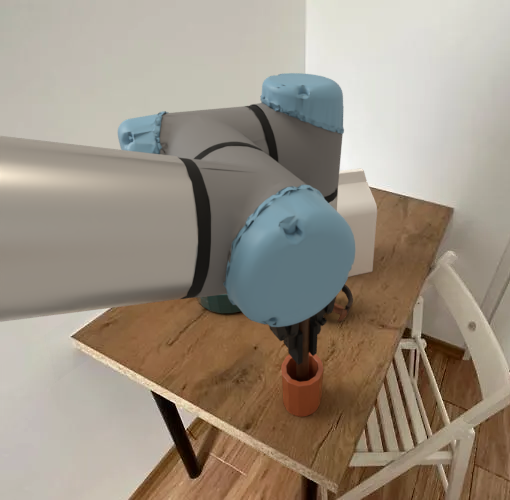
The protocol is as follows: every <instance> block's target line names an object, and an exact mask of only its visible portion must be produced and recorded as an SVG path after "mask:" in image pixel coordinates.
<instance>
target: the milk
mask: <svg viewBox="0 0 510 500" xmlns="http://www.w3.org/2000/svg"><path fill="white" fill-rule="evenodd" d="M374 197H375V196H374V195H373V193H372V190H371V188H370V186H369V183H368V182H367V177H366V173H365V171H364V169H363V168H362V167H361V168H352V169H344V170H343V169H342V170H339V182H338V199H337V212H338V213H339V214H340V215H341V216H342V217H343V218H344V219H345V220H346V222H347V223H348V224H349V226H350V228H351V230H352V232H353V235H354V240H355V259H354V263H353V265H352V268H351V270H350V271H349V274H348V278H349V277H354V276H359V275H363V274H367V273H373V270H374V258H375V257H374V256H375V246H376V245H375V244H376V233H377V231H376V230H377V219H378V218H377V217H378V206H377V203H376V199H375V198H374Z"/></svg>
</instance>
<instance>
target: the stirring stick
mask: <svg viewBox="0 0 510 500" xmlns="http://www.w3.org/2000/svg"><path fill="white" fill-rule="evenodd" d="M298 329H299V330H300V331H301V332H302V333H303V362H302V363H301V364H299V365H298V364H297V363H296V381H299V382H302V381H309V337H310V318H308V319H306V320H304V321H302V322H299V328H298Z"/></svg>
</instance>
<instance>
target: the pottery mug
mask: <svg viewBox="0 0 510 500" xmlns="http://www.w3.org/2000/svg"><path fill="white" fill-rule="evenodd" d="M341 292H343V293H344V295H345V296H346V298H347V304H346V305H345V307H344V305H341V304H338V303H336V302H335V304H334V308H333V311H332V312H333V313H335V314H337V315H339V317H338V318H337V322H338V323H340V322H342V321H343V320H344V319H346V317H347V316H348V315H349V313H350V310H351V308H352V305H353V304H354V297H353V293H352V291H351V289H350V288H349V286H347V284H346V283H345V284H344V286H343V288H342V289H341Z"/></svg>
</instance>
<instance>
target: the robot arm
mask: <svg viewBox="0 0 510 500" xmlns="http://www.w3.org/2000/svg"><path fill="white" fill-rule="evenodd" d="M343 94H344V93H343V90H342V87H341V86H340V85H339V83H337V82H336V81H335V80H333V79H332V78H329V77H326V76H324V75H323V76H322V75H318V74H312V73H302V72H301V73H300V72H299V73H298V72H289V73H279V74H277V75H275V74H273V75H270V76H267V77H265V79H264V80H263V81H262V84H261V95H260V101H261V102H259V103H253V104H250V105H243V106H232V107H222V108H221V107H220V108H208V109H199V110H186V111H176V112H174V111H173V112H168V111H166V110H164V111H163V110H162V111H159V112H158V113H155V114H150V115H142V116H137V117H132V118H131V117H130V118H128V119H125V120H123V121H122V122H121V123H120V124H119V125H118V128H117V139H118V142H119V147H120V149H118V148H117V149H116V148H108V147H101V146H91V145H82V144H74V143H65V142H58V141H50V140H49V141H48V140H39V139H31V138H22V137H16V136H7V135H0V323H2V322H9V321H18V320H25V319H26V320H27V319H32V318H33V319H34V318H43V317H49V316H57V315H65V314H74V313H81V312H90V311H96V310H104V309H112V308H122V307H128V306H129V307H130V306H137V305H145V304H152V303H160V302H167V301H168V302H169V301H176V300H185V299H194V298H197V297H207V296H215V295H222V294H227V295H228V299H229V300H230V302H231V303H232V304H233V305H237V307H238V308H239V309H240V310H241V311H240V312H241V313H242V314H243V315H244V316H245V317H246V318H247V319H249V320H250V321H251V322H254V323H258V324H261V325H267V326H268V328H269V330H270V331H271V332H272V333H273V335H274V336H275V337H276V338H277V339H278V341H279V342H283V345H284V346H285V347H286V348H287V350H288V352H287V353H288V355H290V356H291V357H292V358H293V359H294V360H295V361H296V363H297V364H298V365H299V364H301V363H302V362H303V333H302V332H301V331H300V330H299V329H298V328H299V322H302V321H304V320H306V319H308V318H310V337H309V352H310V353H311V355H312V356H314V355H315V354H316V355H318V353H317V352H318V336H319V335H320V334H321V331H322V327H324V326H325V325H326V324H327V322H328V320H327V319H326V318H325V317H324V316H325V315H330V314H331V313H332V312H333V308H334V304H335V303H336V299H337V296H338V294H339V293H340V292H342V288H343V286H344V284H345V285H346V283H347V281H348V279H349V277H348V274H349V271H350V270H351V268H352V265H353V263H354V259H355V240H354V235H353V232H352V230H351V228H350V226H349V224H348V223H347V222H346V220H345V219H344V218H343V217H342V216H341V215H340V214H339V213H338V212H337V199H338V182H339V171H341V170H340V167H341V158H342V145H343V135H344V133H345V129H344V95H343Z"/></svg>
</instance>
